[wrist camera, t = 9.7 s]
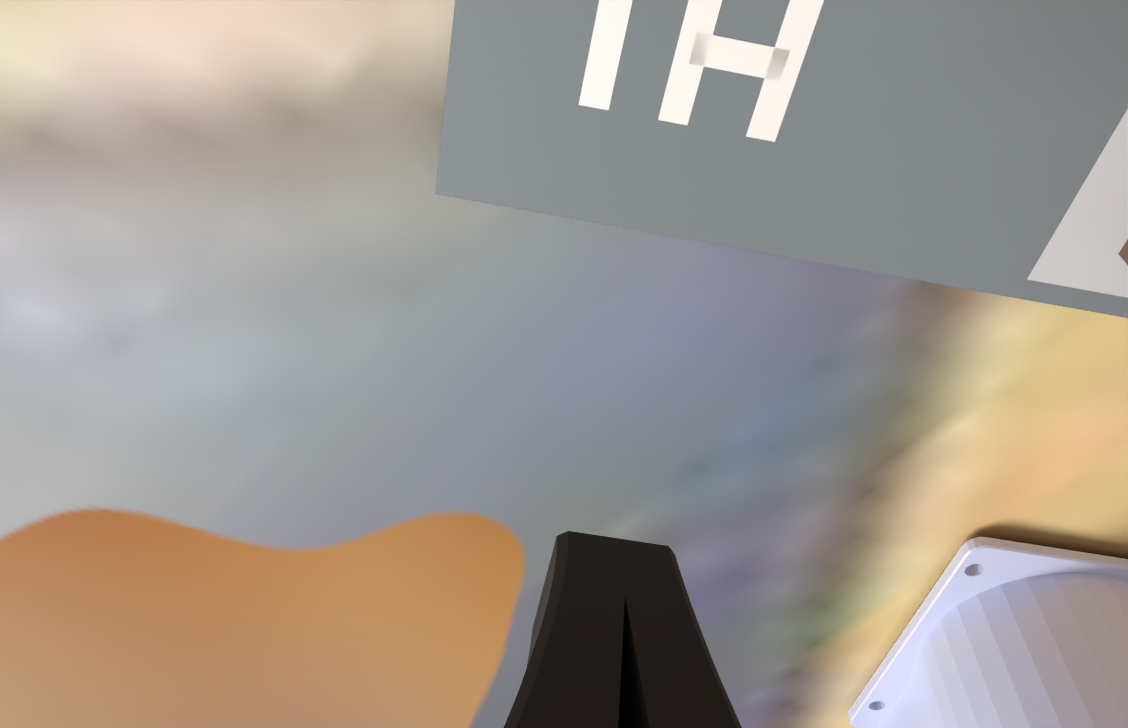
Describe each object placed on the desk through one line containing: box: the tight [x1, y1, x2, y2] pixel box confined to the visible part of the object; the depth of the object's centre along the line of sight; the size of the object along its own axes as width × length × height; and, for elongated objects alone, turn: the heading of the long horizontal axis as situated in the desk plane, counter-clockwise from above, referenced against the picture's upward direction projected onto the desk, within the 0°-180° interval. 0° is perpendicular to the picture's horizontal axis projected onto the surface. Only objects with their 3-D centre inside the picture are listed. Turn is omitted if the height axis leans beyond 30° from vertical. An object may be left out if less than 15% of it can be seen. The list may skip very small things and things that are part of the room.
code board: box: [436, 0, 1128, 318], centre depth 18 cm, size 8×21×1 cm, turn 80°
